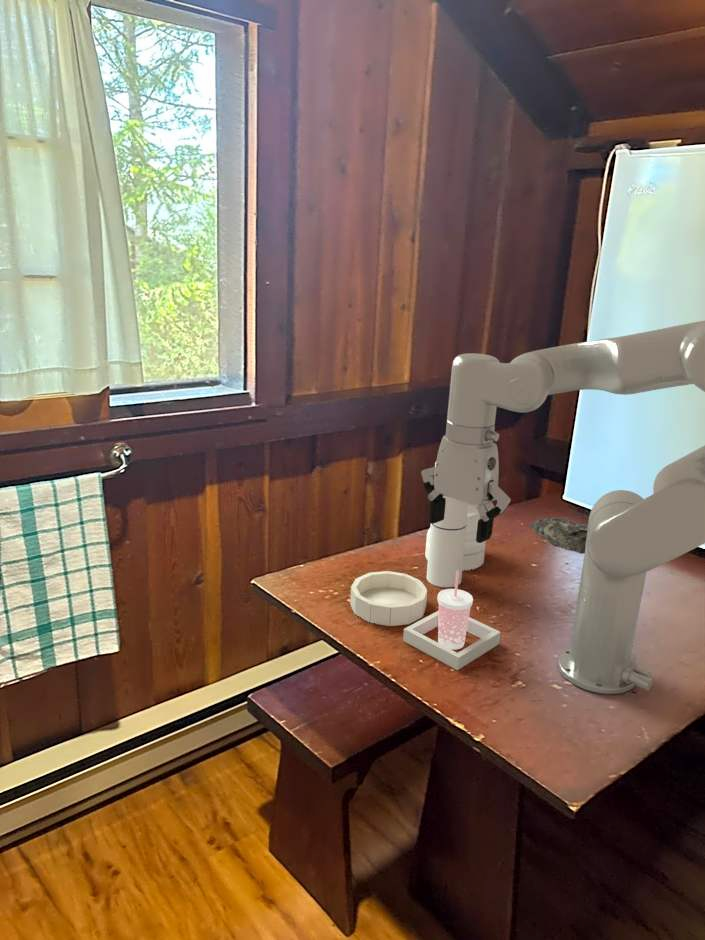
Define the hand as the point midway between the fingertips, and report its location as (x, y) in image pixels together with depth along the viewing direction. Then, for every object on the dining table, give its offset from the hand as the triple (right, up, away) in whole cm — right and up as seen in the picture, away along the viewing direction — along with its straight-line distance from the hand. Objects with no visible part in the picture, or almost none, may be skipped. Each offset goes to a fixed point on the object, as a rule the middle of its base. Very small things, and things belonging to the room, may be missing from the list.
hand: (459, 530), depth 126 cm
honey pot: (+5, -9, +40) cm, 41 cm away
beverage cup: (0, -20, +7) cm, 22 cm away
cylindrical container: (+1, -12, +30) cm, 32 cm away
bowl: (-11, -16, +18) cm, 26 cm away
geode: (+33, -6, +52) cm, 62 cm away
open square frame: (0, -20, +7) cm, 21 cm away
